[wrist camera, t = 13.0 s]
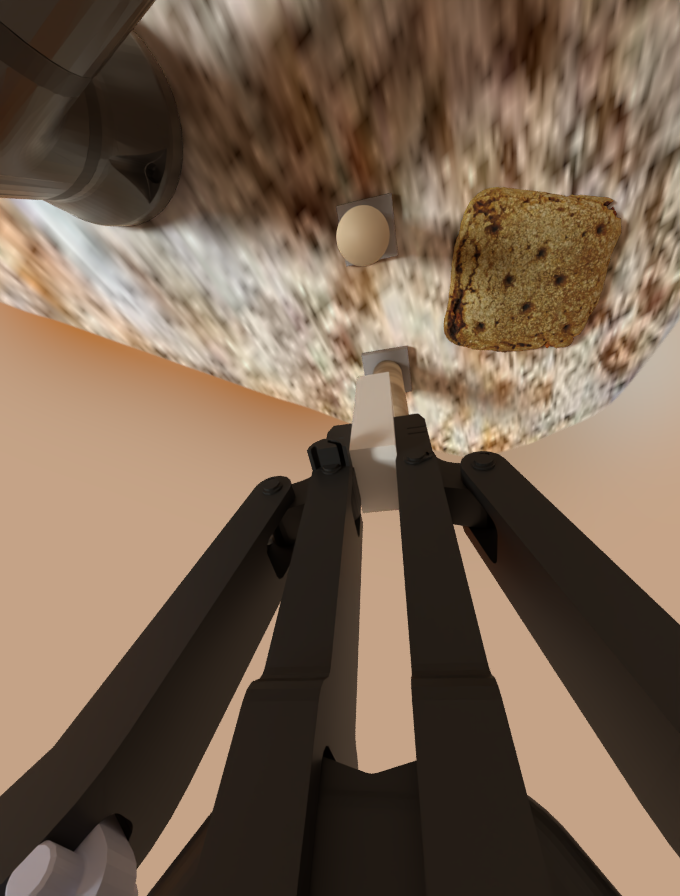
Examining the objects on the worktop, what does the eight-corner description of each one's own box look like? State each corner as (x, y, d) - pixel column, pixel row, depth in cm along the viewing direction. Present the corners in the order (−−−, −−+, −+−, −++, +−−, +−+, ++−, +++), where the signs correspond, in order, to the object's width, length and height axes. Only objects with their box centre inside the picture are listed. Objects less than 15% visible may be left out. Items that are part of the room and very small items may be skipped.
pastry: (648, 284, 35) (669, 288, 33) (487, 391, 43) (494, 402, 40) (566, 110, 30) (584, 99, 27) (395, 268, 37) (396, 271, 34)
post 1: (347, 265, 36) (331, 289, 24) (336, 206, 34) (313, 197, 21) (397, 254, 36) (408, 273, 23) (390, 193, 33) (399, 175, 20)
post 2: (368, 394, 43) (365, 465, 31) (361, 353, 41) (355, 412, 28) (411, 387, 43) (426, 458, 30) (406, 345, 40) (420, 403, 27)
